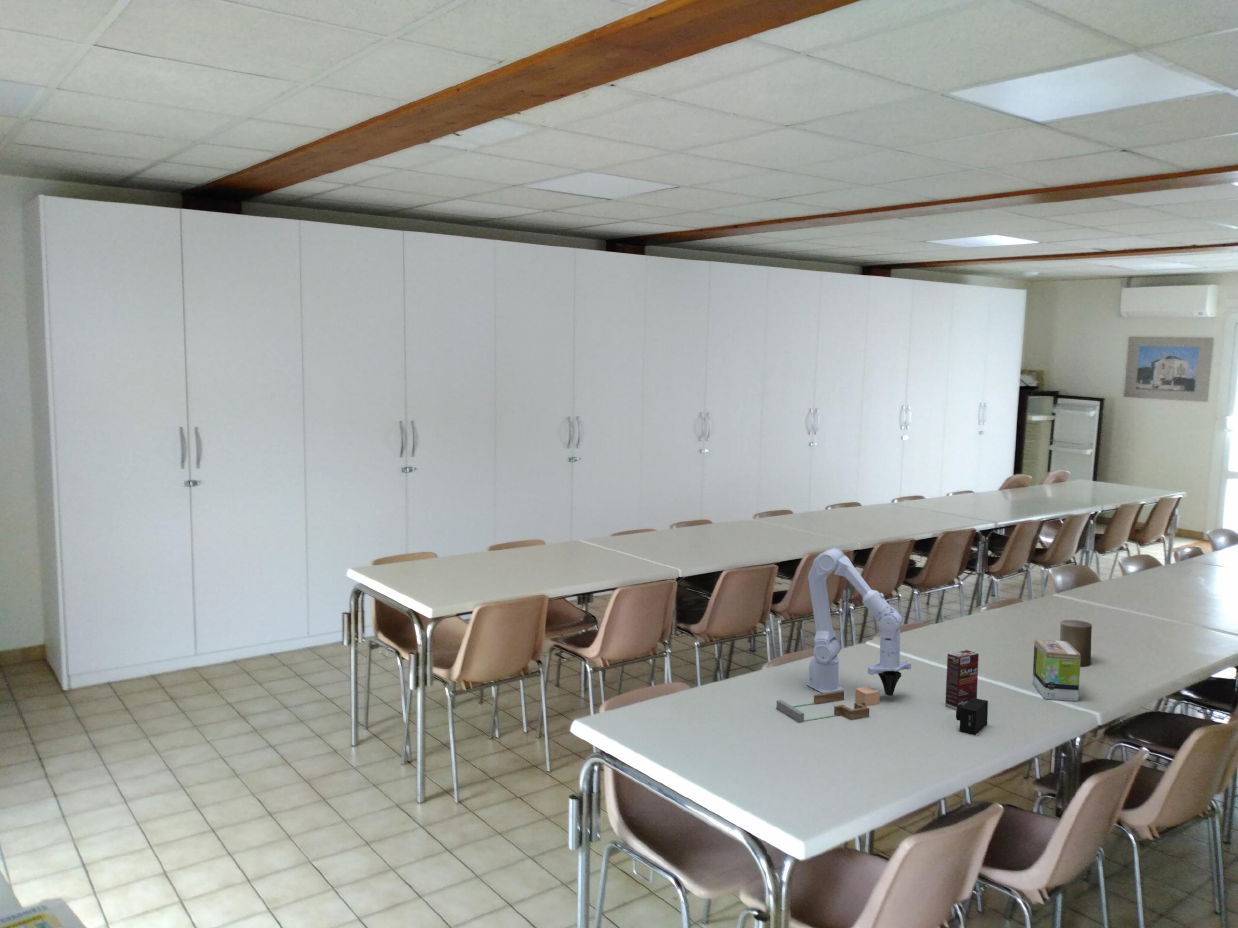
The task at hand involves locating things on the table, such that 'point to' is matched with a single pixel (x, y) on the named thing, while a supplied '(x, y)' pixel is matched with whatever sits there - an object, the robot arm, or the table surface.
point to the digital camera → (972, 716)
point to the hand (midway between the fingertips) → (888, 694)
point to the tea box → (1056, 670)
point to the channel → (851, 714)
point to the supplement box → (961, 678)
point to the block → (867, 696)
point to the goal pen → (796, 711)
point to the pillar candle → (1078, 638)
